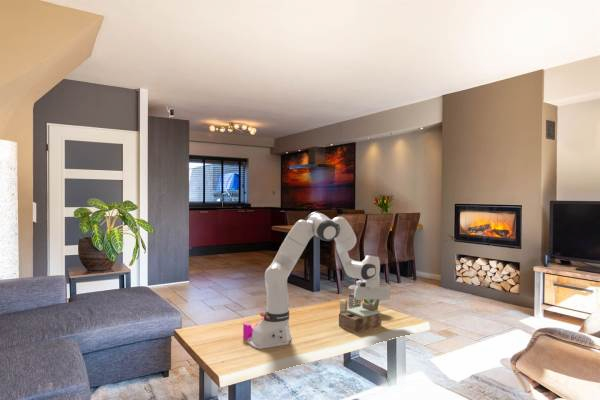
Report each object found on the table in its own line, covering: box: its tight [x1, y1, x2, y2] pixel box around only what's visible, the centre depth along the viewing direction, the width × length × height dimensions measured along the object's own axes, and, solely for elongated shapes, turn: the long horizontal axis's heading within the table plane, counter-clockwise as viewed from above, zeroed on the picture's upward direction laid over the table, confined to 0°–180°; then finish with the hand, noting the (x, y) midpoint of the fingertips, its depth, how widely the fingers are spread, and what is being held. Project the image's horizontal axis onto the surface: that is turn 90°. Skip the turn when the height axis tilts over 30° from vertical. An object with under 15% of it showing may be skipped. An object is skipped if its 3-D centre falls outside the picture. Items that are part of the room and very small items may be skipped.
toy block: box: [242, 317, 264, 341], centre depth 195 cm, size 15×6×8 cm, turn 135°
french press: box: [347, 278, 364, 309], centre depth 239 cm, size 10×12×25 cm
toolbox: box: [338, 312, 382, 334], centre depth 209 cm, size 20×13×7 cm, turn 125°
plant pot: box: [363, 299, 381, 311], centre depth 233 cm, size 12×12×11 cm
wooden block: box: [339, 298, 348, 313], centre depth 217 cm, size 3×3×12 cm
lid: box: [346, 302, 381, 317], centre depth 210 cm, size 13×13×4 cm
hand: (371, 306), depth 214 cm, fingers closed
